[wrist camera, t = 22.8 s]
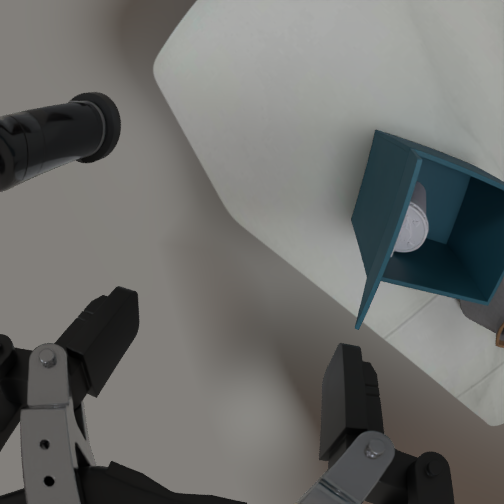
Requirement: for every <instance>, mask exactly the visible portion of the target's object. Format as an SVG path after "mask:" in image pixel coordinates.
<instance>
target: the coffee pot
mask: <svg viewBox="0 0 504 504" xmlns="http://www.w3.org/2000/svg"><path fill="white" fill-rule="evenodd" d="M460 305H461V309H462V311H463V314H464V315H465V316H466V317H467V318H469V319H470V320H472V321H474V322H476V323H478V324H480V325H482V326H483V327H485V328H487V329H489V330H491V331H493V332H494V333H496V346H498V347H502V348H504V277H503V279H502V281H501V283H500V285H499V287H498V289H497V291H496V292H495V294H494V296H493V298H492V300H491V302H490V303H489V305H488V306H486V305H482V304H477V303H473V302H469V301H465V300H460Z"/></svg>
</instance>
